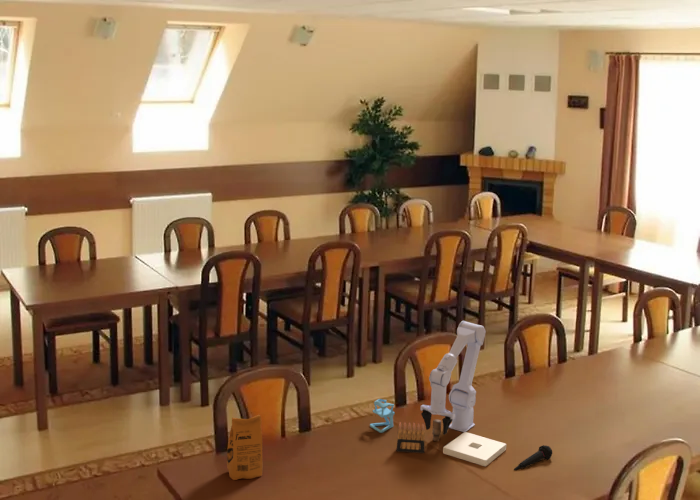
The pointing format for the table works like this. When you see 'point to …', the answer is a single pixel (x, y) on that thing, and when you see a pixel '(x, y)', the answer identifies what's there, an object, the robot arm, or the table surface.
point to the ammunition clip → (411, 438)
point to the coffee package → (245, 448)
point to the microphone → (536, 457)
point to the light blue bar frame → (383, 415)
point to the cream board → (474, 448)
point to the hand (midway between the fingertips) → (436, 431)
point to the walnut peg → (436, 429)
